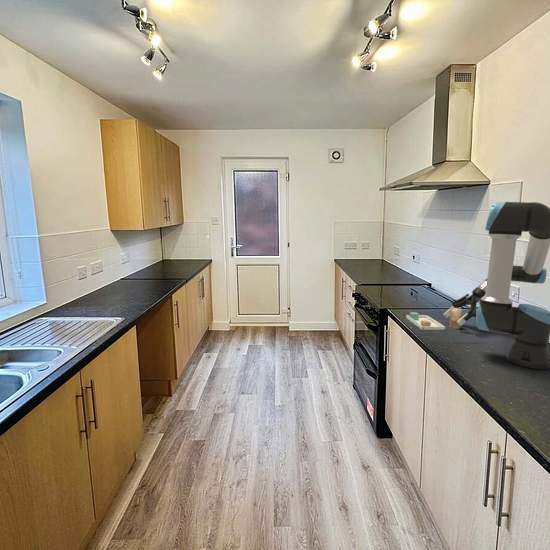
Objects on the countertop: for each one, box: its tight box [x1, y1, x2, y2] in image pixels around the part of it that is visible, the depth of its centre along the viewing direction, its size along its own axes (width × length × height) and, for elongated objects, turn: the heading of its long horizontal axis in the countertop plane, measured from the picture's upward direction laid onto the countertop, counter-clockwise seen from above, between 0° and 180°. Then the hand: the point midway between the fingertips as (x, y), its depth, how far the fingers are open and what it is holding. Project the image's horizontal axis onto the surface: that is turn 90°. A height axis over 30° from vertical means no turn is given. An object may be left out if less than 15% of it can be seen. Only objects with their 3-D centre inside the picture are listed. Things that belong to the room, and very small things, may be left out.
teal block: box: [409, 311, 420, 320], centre depth 204 cm, size 4×4×4 cm
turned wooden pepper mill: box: [449, 307, 463, 330], centre depth 191 cm, size 5×5×11 cm
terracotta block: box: [421, 320, 431, 326], centre depth 189 cm, size 4×4×4 cm
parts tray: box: [405, 314, 446, 331], centre depth 197 cm, size 21×12×2 cm, turn 3°
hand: (451, 319), depth 191 cm, fingers open, 13 cm apart
